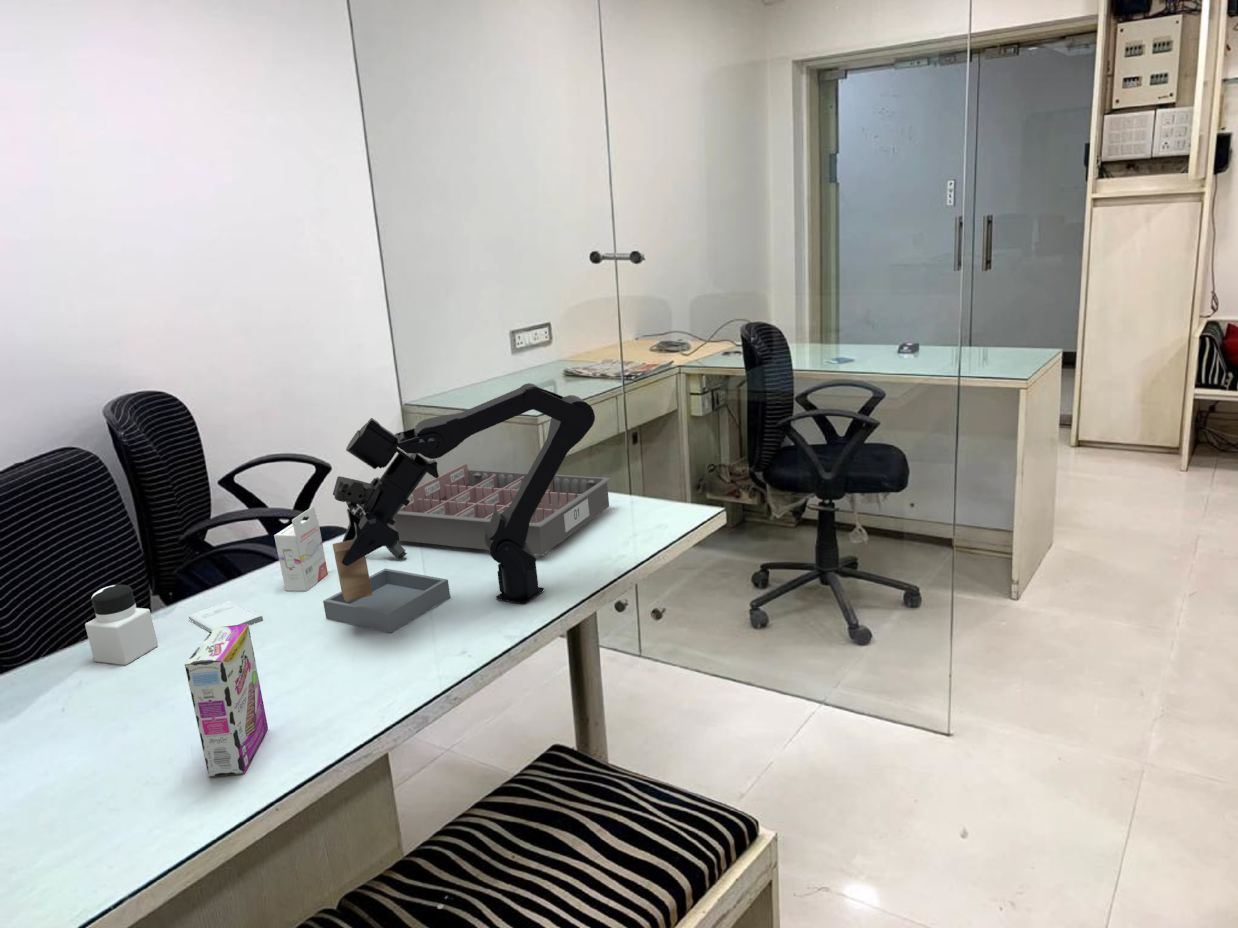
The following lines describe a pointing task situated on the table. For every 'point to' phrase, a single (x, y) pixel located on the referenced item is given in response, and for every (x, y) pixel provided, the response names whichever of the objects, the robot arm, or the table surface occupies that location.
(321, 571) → the ink cartridge box
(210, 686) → the candy bar box
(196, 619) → the white power bank
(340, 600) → the charcoal bin
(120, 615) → the medicine bottle
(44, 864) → the table surface
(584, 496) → the organizer tray
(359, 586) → the walnut block
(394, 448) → the robot arm
